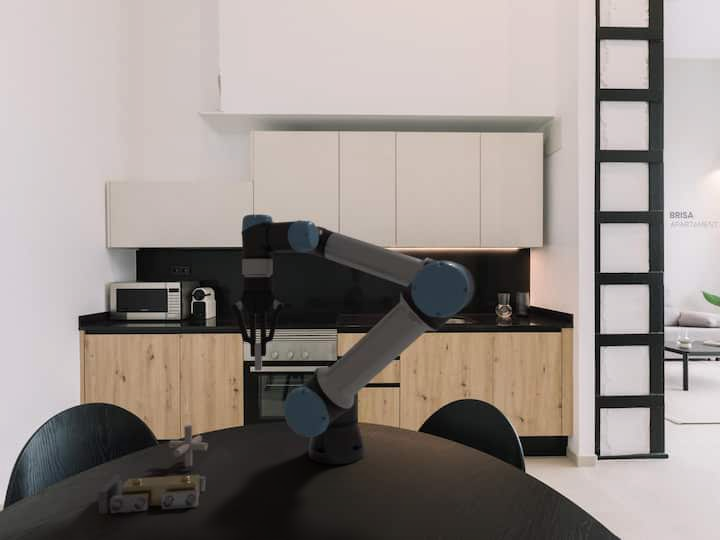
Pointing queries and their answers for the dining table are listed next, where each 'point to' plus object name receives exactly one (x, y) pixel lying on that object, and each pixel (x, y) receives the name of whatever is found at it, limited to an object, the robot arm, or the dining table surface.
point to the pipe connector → (188, 445)
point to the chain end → (182, 497)
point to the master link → (160, 486)
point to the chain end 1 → (120, 498)
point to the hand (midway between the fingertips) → (258, 369)
